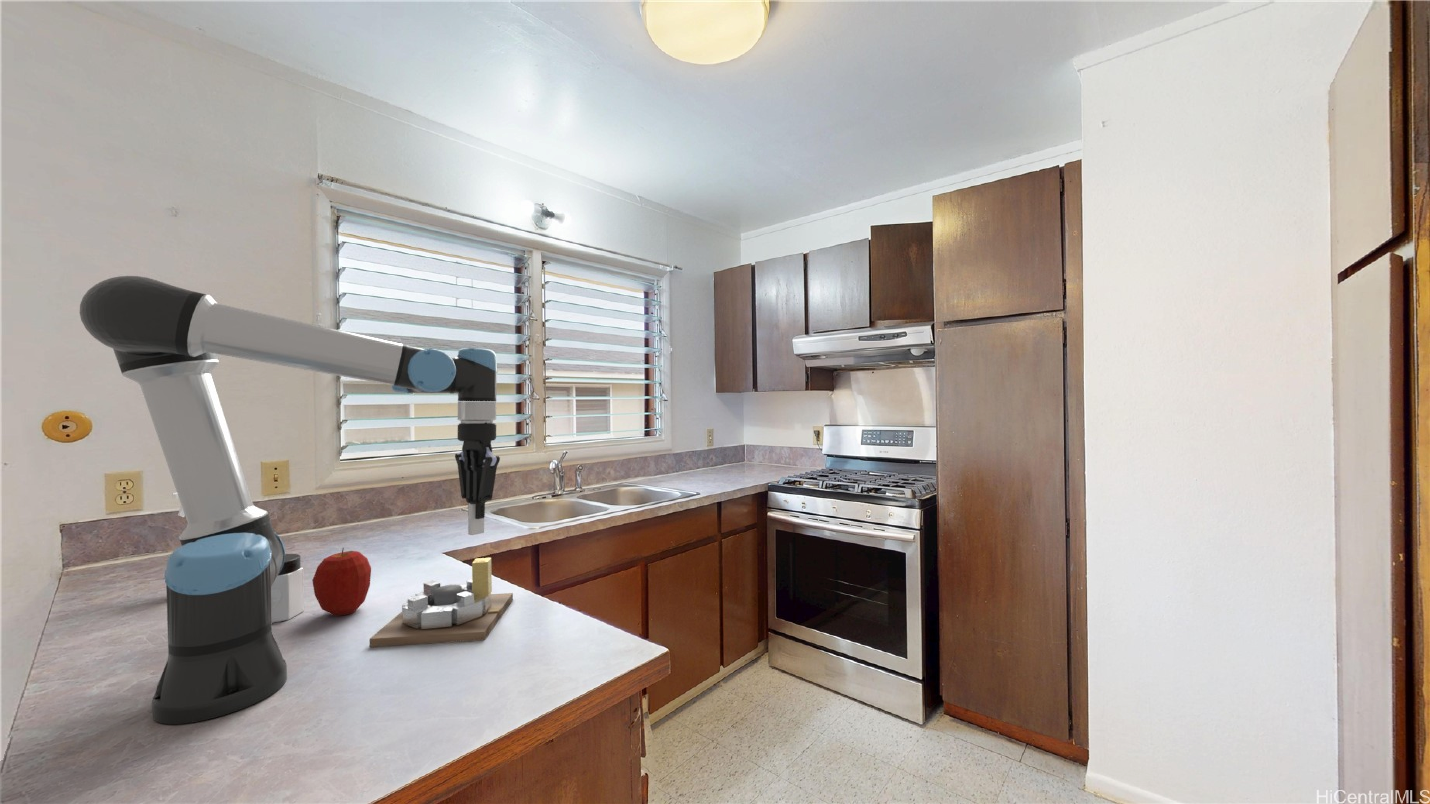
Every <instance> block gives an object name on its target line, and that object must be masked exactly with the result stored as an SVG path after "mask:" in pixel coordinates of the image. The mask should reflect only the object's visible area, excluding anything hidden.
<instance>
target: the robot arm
mask: <svg viewBox="0 0 1430 804" xmlns="http://www.w3.org/2000/svg"><path fill="white" fill-rule="evenodd" d="M79 316H80V321H81V322H82V325H83V326H84V328H85V330H86V332H88V333H89V334H90V336H92V338H94V339H95V340H96V341H98V342H100V343H101V344H102V345H105V346H106V347H108V348H110V349H113V353H114V355H115V357H116V358H115V359H116V360H117V364H118V367H119V369H120V372H121V375H122V377H125V378H126V379H129V380H131V381H133V382H135V383H137V384H138V385H140V388H141V391H142V395H143V398H144V400H145V403H146V406H147V410H148V412H149V414H150V418H151V420H152V424H153V427H154V429H155V432H156V435H157V438H158V441H159V444H160V447H161V450H162V452H163V455H164V458H165V461H166V464H167V467H168V470H169V473H170V476H171V479H172V482H173V484H174V488H175V491H176V493H177V494H178V496H179V498H178V499H179V502H180V504H181V506H182V508H183V511H184V514H185V517H184V518H185V519H186V522H187V525H186V527H185V529H184V530H183V531H182V533H181V534H180V535H179V536H178V538H179V542H180V545H181V546H179V547H177V548H176V549H175V550H174V551H172V552H171V554H169V556H168V559H167V560H166V561H167V562H166V569H165V572H164V582H165V584H166V587H165V589H166V620H167V623H166V624H167V643H168V644H167V647H168V649H167V650H168V655H167V659H166V662H165V663H166V664H165V666H164V668H163V671H162V674H161V675H160V678H159V681H158V684H157V687H156V689H155V692H154V694H153V697H152V700H151V716H152V717H151V718H152V719H153V720H154V721H155V722H156V723H160V724H165V725H179V724H181V725H183V724H189V723H195V722H201V721H206V720H210V719H215V718H218V717H221V716H225V715H228V714H231V713H234V712H237V711H240V710H243V709H245V708H247V707H250V706H252V705H254V704H256V703H258V702H260V701H262V700H265V699H266V698H268V697H269V696H271V695H273V694H274V693H276V692H277V691H278V690H280V689H281V688H282V687H283V686H284V685H285V683H286V682H287V679H288V668H287V666H288V665H287V662H286V660H285V659H284V657H283V655H282V653H281V650H280V647H279V645H278V644H277V641H276V638H275V637H274V635H273V631H272V630H273V628H272V627H273V626H272V624H273V623H271V619H272V618H271V586H272V584H273V583H274V581H275V579H276V577H277V576H278V574H279V573H280V571H281V569H282V567H283V564H284V561H285V558H284V557H285V554H286V549H285V545H284V542H283V540H282V539H281V537H280V536H279V535H278V534H277V533H276V532H275V531H274V527H273V524H272V521H271V518H270V515H269V512H268V510H265V509H262V508H260V507H257V506H256V505H254V502H253V498H252V496H251V493H250V490H249V486H248V483H247V481H246V478H245V475H244V474H245V473H244V472H243V468H242V466H241V462H240V459H239V456H238V453H237V449H236V447H235V442H234V441H233V438H232V434H231V432H230V428H229V425H228V422H227V420H226V417H225V414H224V409H223V407H222V403H221V400H220V398H219V397H220V396H219V395H218V392H217V389H216V385H215V383H214V379H213V377H212V372H213V371H214V370H215V368H216V367H217V365H219V364H220V361H219V357H218V355H221V356H226V357H232V358H238V359H242V360H243V359H244V360H249V361H253V362H258V363H259V362H260V363H265V364H271V365H278V366H283V367H286V368H287V367H288V368H295V369H299V370H304V371H311V372H315V373H321V374H327V375H333V376H337V377H338V376H339V377H345V378H348V379H355V380H361V381H365V382H366V381H367V382H372V383H377V384H384V385H389V386H391V389H392V391H393V392H395V393H401V394H402V393H404V394H405V393H407V394H457V420H458V421H460V422H459V423H458V424H457V441H459V442H462V443H463V444H462V447H461V450H462V451H460V453H455V455H454V458H455V461H456V465H457V471H458V477H459V478H458V479H459V481H458V482H459V487H460V495H461V498H462V500H463V499H465V501H466V503H467V516H468V521H467V522H468V523H467V524H468V526H467V527H468V528H467V529H468V530H467V534H468V535H470V536H475V535H480V534H484V533H485V518H486V517H485V515H486V512H485V511H486V503H487V502H488V501H492V499H493V494H494V487H495V481H496V475H497V474H496V473H497V470H498V465H499V463H500V461H501V458H500V455H494V454H493V447H492V441H495V440H496V439H497V424H496V423H494V421H495V420H497V388H498V386H497V384H498V383H497V382H498V381H497V379H498V375H497V374H498V366H497V355H496V353H495V351H494V350H492V349H487V348H479V347H477V348H471V347H467V348H464V347H463V348H460V349H459V350H458V353H457V356H453V357H451V355H449V354H447V353H446V352H445V351H443V350H439V349H435V348H421V347H417V346H412V345H407V344H403V343H398V342H394V341H389V340H384V339H381V338H375V337H372V336H367V335H362V334H358V333H354V332H349V331H344V330H339V329H335V328H331V327H330V328H329V327H326V326H321V325H317V324H312V323H308V322H302V321H297V320H294V319H293V320H292V319H288V318H285V317H280V316H275V315H271V314H266V313H263V312H262V313H261V312H258V311H252V310H248V309H244V308H240V307H236V306H235V307H234V306H230V305H226V304H225V305H224V304H221V303H219V302H217V301H216V300H215V299H214V298H213V297H212V295H210V294H205V293H202V292H197V291H194V290H189V289H185V288H182V287H179V286H175V285H171V284H169V283H166V282H163V281H159V280H157V279H153V278H150V277H147V276H141V275H140V276H138V275H121V276H120V275H119V276H115V277H110V278H107V279H104V280H102V281H100V282H98V283H96V284H94V285H93V286H91V287H90V288H89V289H88V290H87V291H86V292H85V294H84V295H83V296H82V298H81V301H80V304H79Z"/></svg>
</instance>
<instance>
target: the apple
mask: <svg viewBox="0 0 1430 804" xmlns="http://www.w3.org/2000/svg"><path fill="white" fill-rule="evenodd" d="M371 576H372V567H371V564H370V562H369V560H368V558H367V557H366V556H365V555H364V554H363V553H361V552H360V551H357V550H348V551H344V547H342V548H341V552H338V553H334V554H332V555H330V556H327V557H325V558H323V560H322V561H321V562H320V563H319V564H318V566H317V567H316V570H315V572H314V576H313V578H312V587H313V592H314V597H315V598H316V601H317V602H318V604H319V606H320V608H321V610H322V611H324V612H326V613H329V614H330V615H332V616H334V617H335V616H336V617H338V616H339V617H340V616H346V615H350V614H353V613H355V612H356V611H357V610H358V609H359V608H360V607H361V605H363V604H364V603H365V601H366V599H367V596H368V595H367V594H368V592H369V589H370V587H371V578H372V577H371Z"/></svg>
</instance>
